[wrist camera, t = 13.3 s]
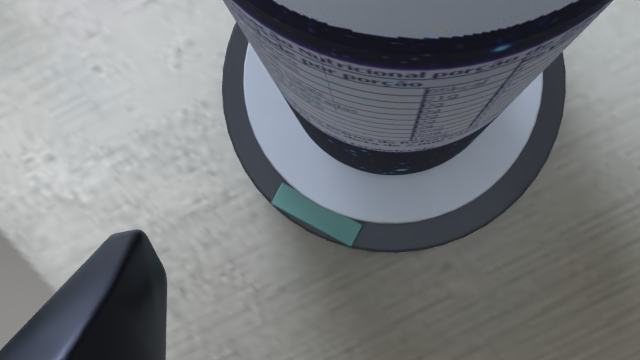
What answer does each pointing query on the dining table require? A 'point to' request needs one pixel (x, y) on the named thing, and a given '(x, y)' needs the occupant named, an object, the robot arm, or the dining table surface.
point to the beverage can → (405, 69)
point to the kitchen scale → (385, 190)
